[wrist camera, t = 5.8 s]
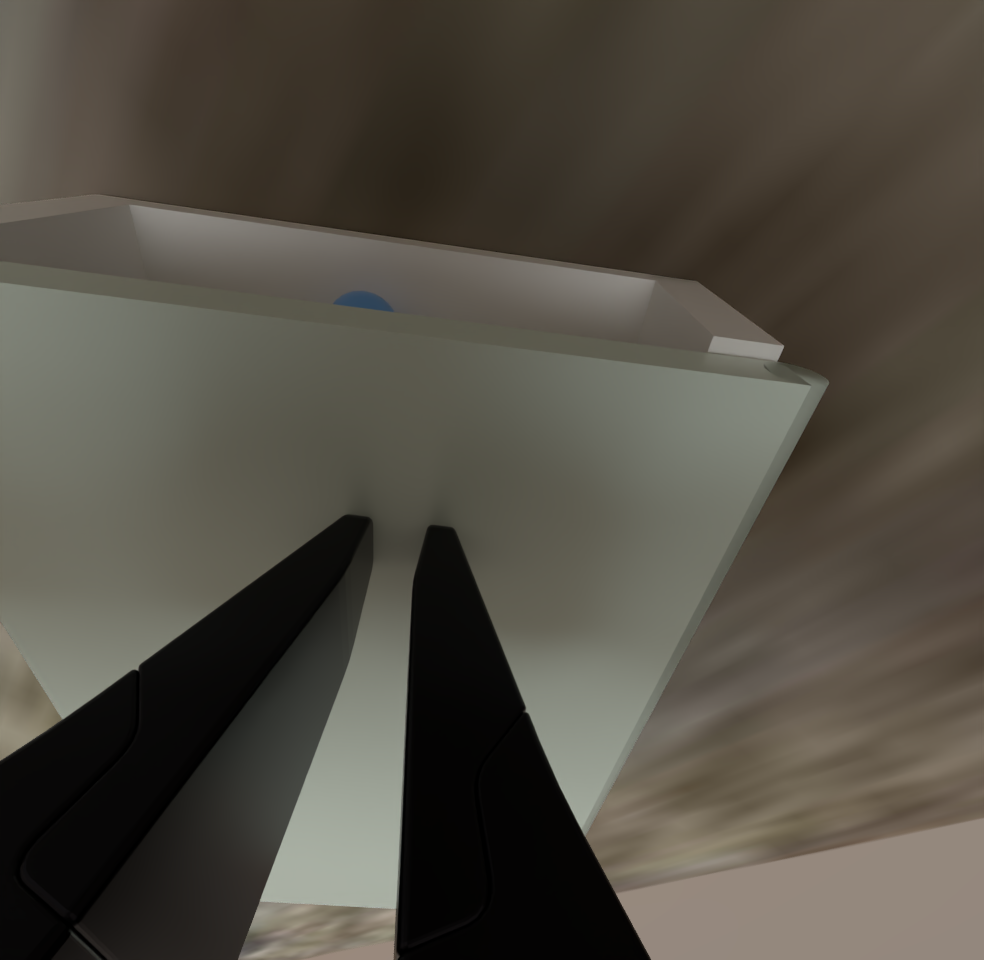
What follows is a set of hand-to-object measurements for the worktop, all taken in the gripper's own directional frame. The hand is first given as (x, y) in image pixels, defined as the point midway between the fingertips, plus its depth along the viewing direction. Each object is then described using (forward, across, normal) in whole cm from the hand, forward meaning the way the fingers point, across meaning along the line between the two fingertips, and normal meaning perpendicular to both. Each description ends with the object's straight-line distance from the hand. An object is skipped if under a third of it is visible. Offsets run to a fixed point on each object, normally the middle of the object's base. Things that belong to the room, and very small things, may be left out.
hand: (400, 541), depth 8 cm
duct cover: (+1, +1, +7) cm, 7 cm away
